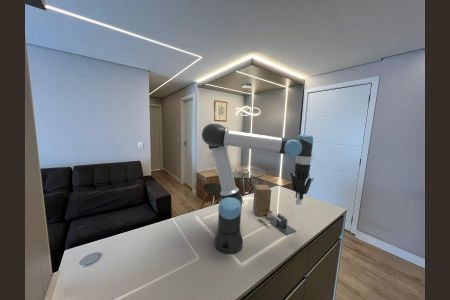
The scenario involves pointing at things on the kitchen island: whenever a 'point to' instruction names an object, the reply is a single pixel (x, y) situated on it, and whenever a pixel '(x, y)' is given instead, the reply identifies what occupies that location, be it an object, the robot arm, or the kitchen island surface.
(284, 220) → the gauge slider with pointer
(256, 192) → the wooden block
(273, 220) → the gauge housing
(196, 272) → the kitchen island surface
